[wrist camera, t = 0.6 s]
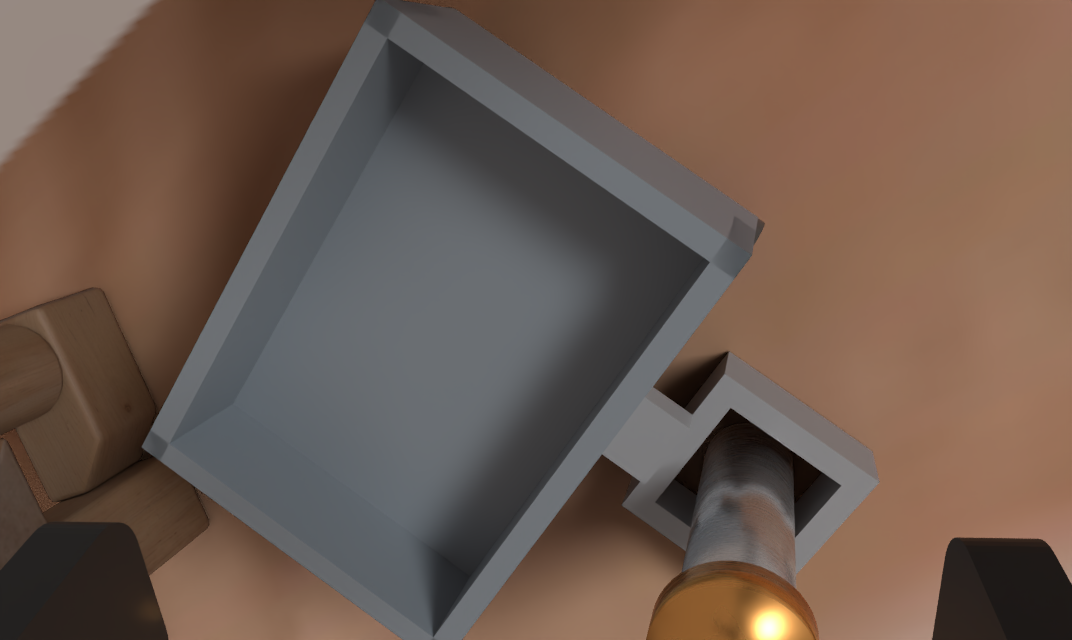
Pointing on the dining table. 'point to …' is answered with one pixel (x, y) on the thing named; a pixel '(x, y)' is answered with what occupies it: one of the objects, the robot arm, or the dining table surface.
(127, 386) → the brown wooden stand
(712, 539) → the pin
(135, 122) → the dining table surface
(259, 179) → the dining table surface
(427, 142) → the grey tray with sleeve
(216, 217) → the dining table surface
